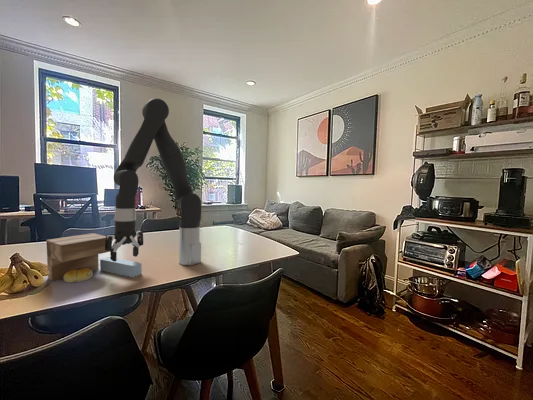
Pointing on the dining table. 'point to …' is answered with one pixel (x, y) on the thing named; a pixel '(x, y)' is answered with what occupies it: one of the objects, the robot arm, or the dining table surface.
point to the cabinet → (73, 254)
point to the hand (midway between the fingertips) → (125, 258)
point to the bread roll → (78, 275)
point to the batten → (121, 267)
